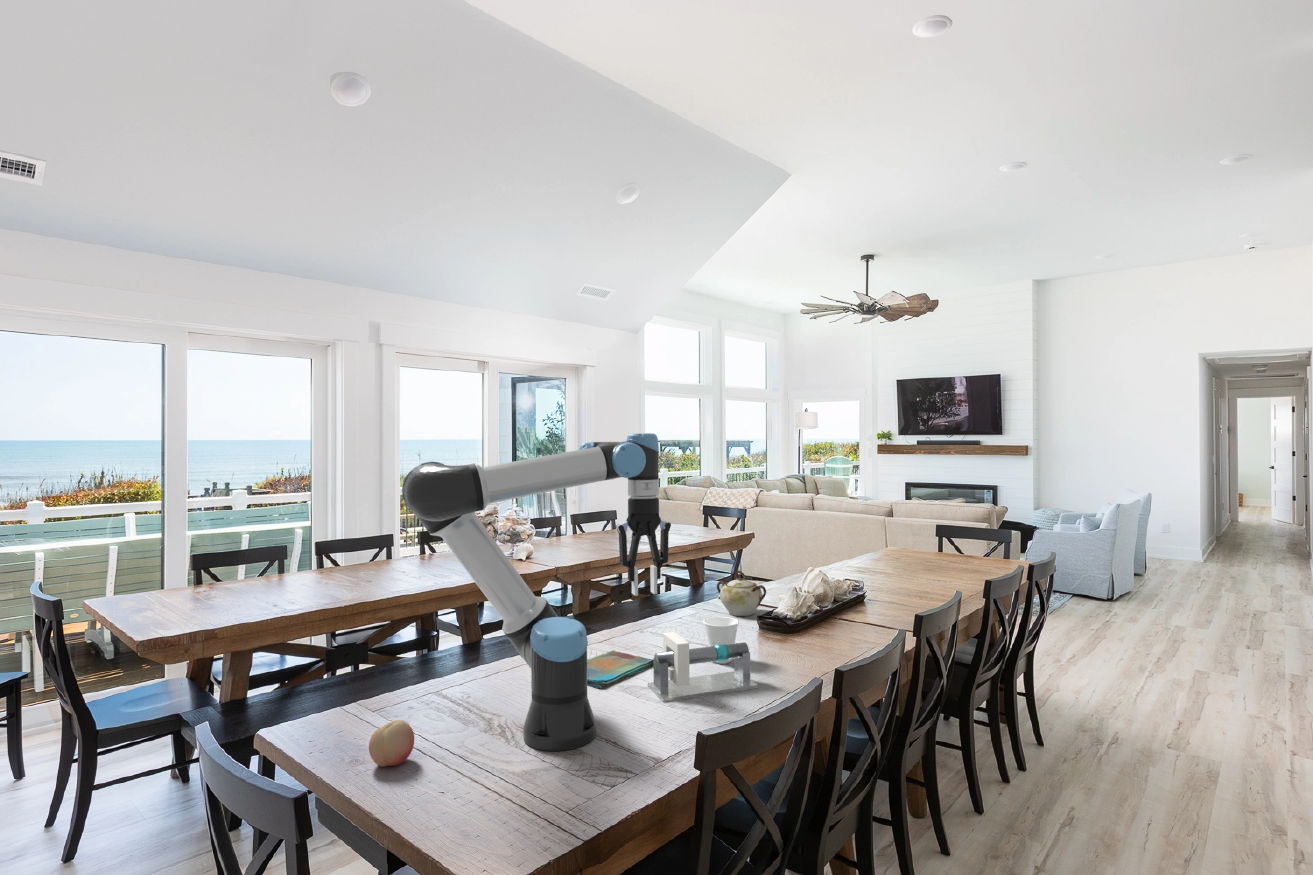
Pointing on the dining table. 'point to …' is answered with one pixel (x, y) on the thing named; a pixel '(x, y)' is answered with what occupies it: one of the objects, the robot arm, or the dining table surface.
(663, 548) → the robot arm
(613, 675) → the dish towel
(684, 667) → the collar
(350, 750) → the dining table surface
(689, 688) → the pipe rig
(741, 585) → the sugar bowl
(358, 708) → the dining table surface
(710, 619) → the cup
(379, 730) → the fruit
